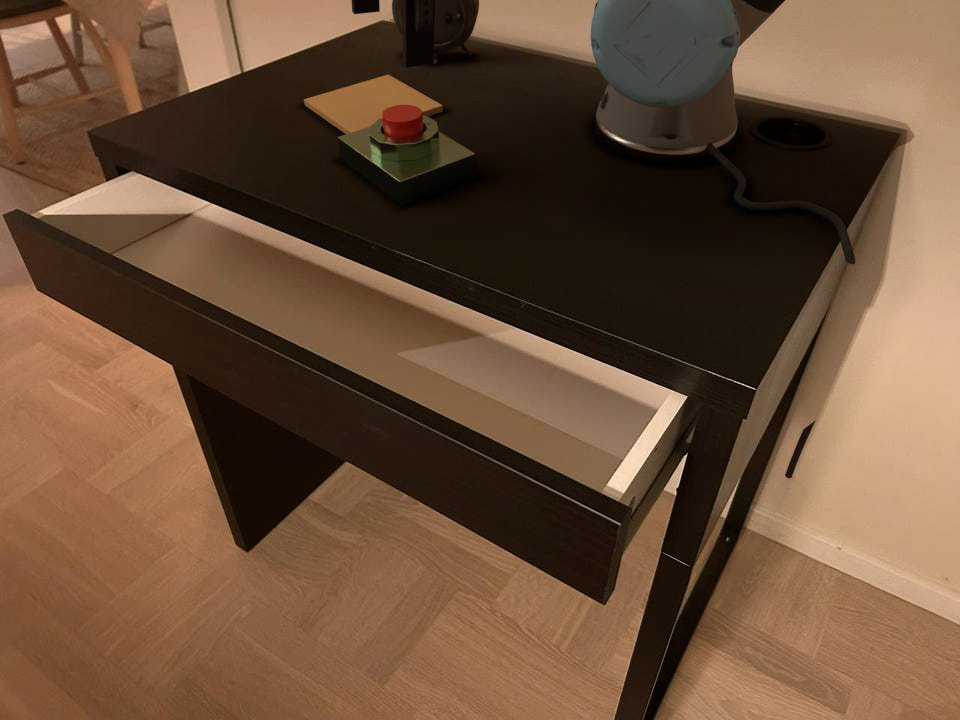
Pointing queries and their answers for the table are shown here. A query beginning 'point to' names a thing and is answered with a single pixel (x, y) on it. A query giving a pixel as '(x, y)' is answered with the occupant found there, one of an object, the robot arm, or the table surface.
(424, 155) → the control box
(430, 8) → the robot arm
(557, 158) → the table surface
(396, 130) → the button
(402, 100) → the cork mat
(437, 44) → the alarm clock
